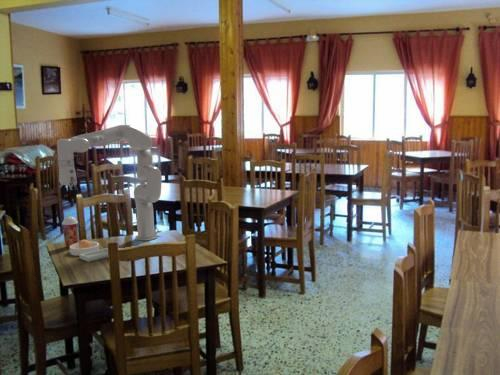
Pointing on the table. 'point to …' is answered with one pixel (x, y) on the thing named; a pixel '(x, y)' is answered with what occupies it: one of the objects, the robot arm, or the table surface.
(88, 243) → the ball
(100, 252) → the tray
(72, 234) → the smoothie
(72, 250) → the bowl
